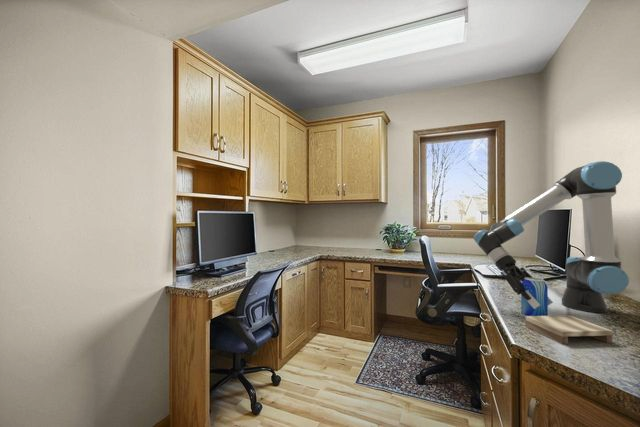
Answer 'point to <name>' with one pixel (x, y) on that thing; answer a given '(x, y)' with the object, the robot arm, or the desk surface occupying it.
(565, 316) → the shelf stand
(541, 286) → the beer can
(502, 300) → the desk surface
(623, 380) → the desk surface
